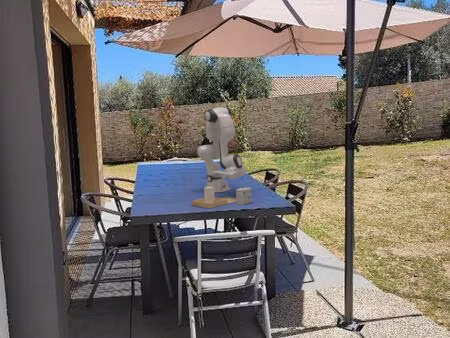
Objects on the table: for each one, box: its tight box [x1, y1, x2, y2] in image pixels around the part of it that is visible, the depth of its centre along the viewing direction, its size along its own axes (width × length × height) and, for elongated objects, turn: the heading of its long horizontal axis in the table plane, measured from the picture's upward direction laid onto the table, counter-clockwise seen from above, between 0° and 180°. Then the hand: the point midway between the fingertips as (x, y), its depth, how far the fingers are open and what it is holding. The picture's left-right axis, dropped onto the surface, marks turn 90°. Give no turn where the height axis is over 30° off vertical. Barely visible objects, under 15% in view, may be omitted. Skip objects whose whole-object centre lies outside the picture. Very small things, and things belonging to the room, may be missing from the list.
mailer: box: [191, 196, 236, 210], centre depth 329 cm, size 37×18×4 cm, turn 137°
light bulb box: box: [235, 186, 253, 206], centre depth 323 cm, size 11×7×11 cm, turn 140°
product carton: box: [203, 186, 216, 203], centre depth 321 cm, size 5×5×12 cm
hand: (216, 176), depth 333 cm, fingers open, 8 cm apart
